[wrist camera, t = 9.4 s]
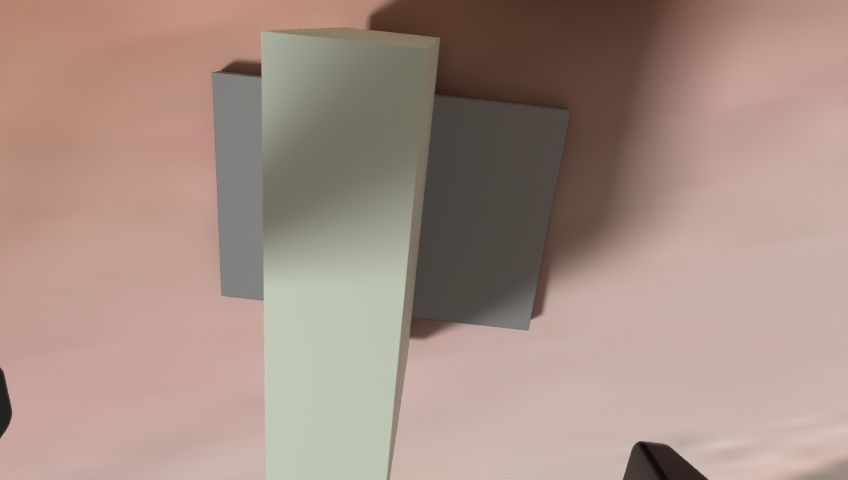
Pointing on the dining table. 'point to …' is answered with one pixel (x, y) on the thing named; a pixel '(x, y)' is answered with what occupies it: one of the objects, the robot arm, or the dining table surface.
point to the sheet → (340, 242)
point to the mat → (442, 207)
